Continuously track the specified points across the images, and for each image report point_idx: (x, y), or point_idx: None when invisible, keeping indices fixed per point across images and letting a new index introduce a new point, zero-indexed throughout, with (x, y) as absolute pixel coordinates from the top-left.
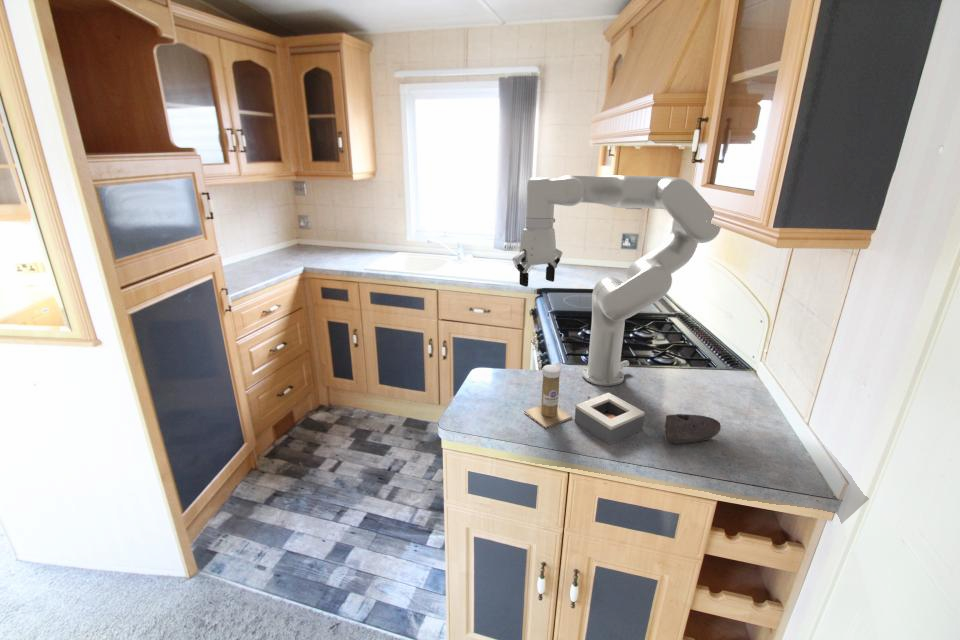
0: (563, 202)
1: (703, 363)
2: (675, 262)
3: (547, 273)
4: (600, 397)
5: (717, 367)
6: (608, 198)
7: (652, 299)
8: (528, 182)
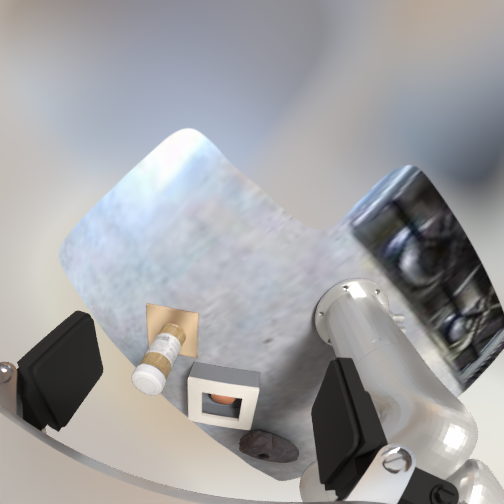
0: None
1: (466, 361)
2: None
3: (335, 412)
4: (235, 390)
5: (461, 375)
6: None
7: None
8: None
